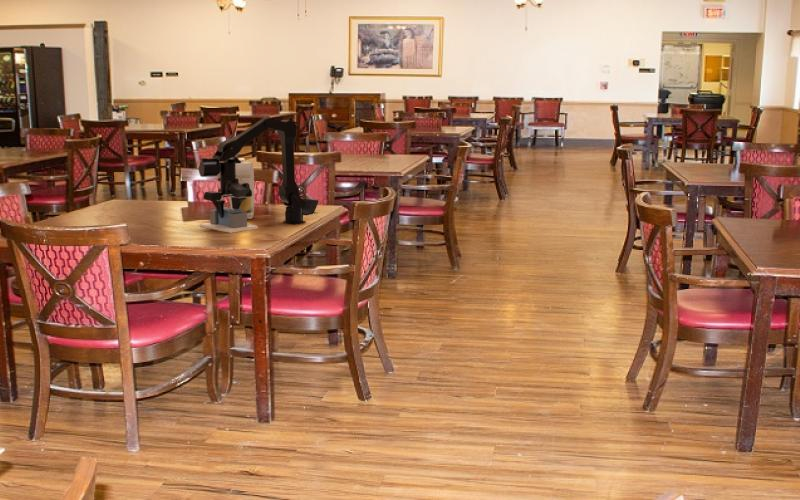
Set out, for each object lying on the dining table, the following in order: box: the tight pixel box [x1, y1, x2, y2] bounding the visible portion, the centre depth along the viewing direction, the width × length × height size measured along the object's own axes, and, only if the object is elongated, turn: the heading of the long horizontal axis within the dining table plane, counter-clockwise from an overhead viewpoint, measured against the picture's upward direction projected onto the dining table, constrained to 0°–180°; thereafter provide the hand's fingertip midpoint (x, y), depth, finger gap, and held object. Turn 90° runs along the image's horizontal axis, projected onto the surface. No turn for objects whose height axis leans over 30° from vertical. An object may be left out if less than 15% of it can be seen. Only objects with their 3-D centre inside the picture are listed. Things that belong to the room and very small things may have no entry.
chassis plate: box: [199, 208, 259, 234], centre depth 330 cm, size 13×18×6 cm
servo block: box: [214, 206, 243, 227], centre depth 330 cm, size 4×11×6 cm, turn 49°
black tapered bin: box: [302, 198, 319, 216], centre depth 369 cm, size 12×7×10 cm
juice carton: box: [229, 157, 255, 220], centre depth 351 cm, size 9×8×24 cm
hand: (228, 217), depth 330 cm, fingers open, 6 cm apart
